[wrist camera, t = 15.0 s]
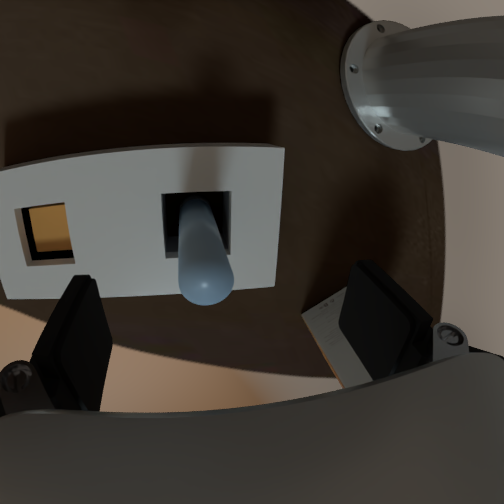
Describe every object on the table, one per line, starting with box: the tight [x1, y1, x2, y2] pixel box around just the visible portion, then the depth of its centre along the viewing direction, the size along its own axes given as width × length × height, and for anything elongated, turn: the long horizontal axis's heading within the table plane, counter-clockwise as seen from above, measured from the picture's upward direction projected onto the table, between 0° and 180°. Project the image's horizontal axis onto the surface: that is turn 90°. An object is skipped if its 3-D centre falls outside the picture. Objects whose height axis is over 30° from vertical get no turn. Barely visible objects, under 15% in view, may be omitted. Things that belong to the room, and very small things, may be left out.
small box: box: [301, 287, 373, 389], centre depth 25 cm, size 8×6×13 cm
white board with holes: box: [0, 143, 285, 299], centre depth 19 cm, size 22×10×4 cm, turn 88°
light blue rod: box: [178, 194, 234, 305], centre depth 17 cm, size 2×2×11 cm
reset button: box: [29, 202, 72, 252], centre depth 18 cm, size 3×3×2 cm
